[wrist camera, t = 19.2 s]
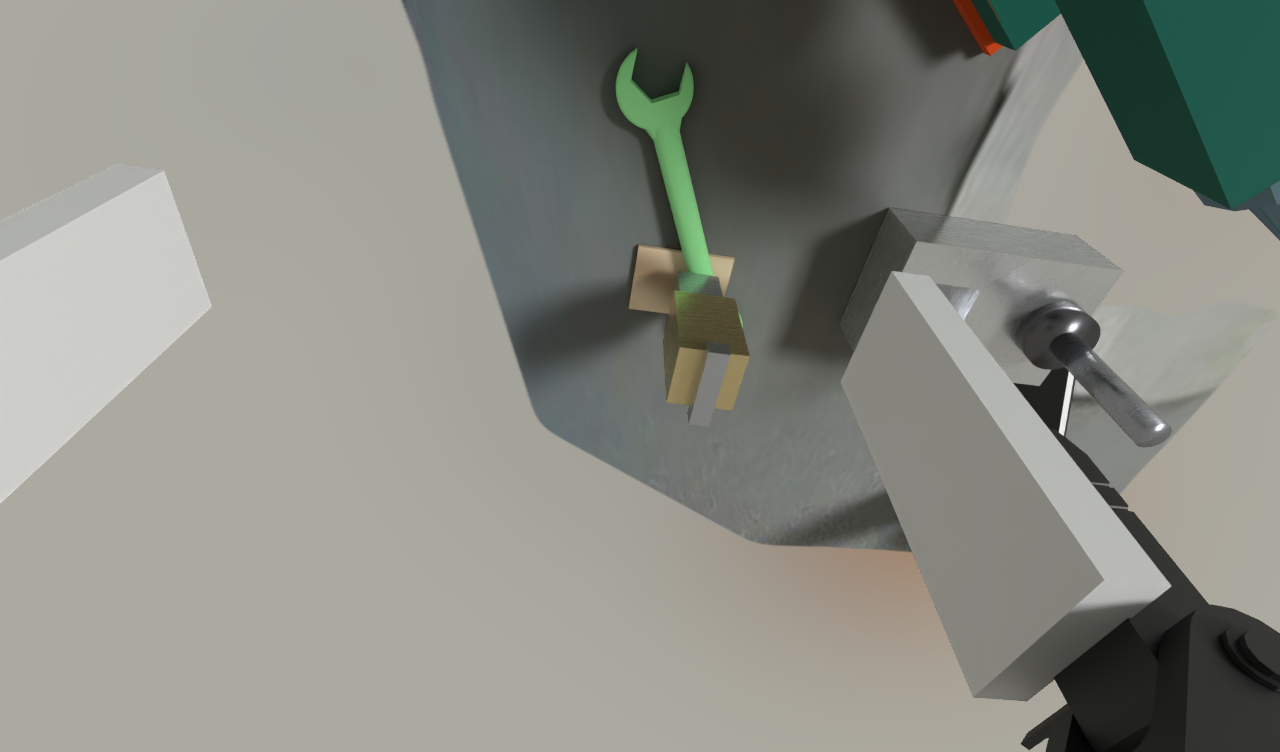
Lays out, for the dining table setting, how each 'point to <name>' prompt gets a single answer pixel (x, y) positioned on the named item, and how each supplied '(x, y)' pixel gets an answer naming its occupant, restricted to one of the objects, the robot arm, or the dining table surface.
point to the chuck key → (703, 347)
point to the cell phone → (1051, 398)
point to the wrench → (669, 155)
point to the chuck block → (1011, 301)
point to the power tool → (1174, 84)
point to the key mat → (666, 276)
